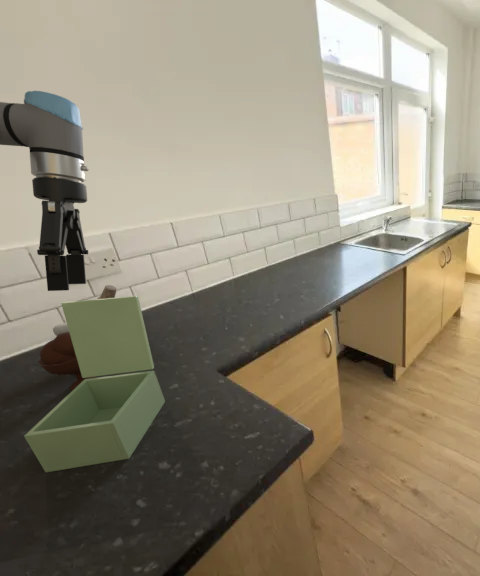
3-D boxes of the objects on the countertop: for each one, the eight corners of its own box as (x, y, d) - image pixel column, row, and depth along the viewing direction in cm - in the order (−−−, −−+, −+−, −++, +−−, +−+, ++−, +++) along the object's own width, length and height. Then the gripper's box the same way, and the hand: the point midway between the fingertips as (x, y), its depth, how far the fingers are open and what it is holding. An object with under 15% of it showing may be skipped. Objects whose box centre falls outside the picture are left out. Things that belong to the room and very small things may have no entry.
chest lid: (135, 296, 67) (138, 295, 67) (60, 303, 64) (64, 302, 65) (152, 369, 70) (154, 367, 71) (82, 378, 68) (85, 376, 69)
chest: (129, 458, 60) (113, 422, 56) (45, 472, 57) (23, 436, 54) (165, 401, 74) (154, 370, 71) (99, 410, 72) (84, 379, 68)
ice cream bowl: (117, 366, 87) (98, 318, 82) (101, 392, 78) (77, 339, 72) (69, 376, 84) (45, 326, 78) (45, 404, 74) (16, 349, 69)
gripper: (68, 170, 54) (78, 292, 57) (98, 192, 75) (104, 281, 77) (3, 162, 50) (16, 295, 53) (53, 188, 71) (61, 282, 73)
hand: (68, 287), depth 65 cm, fingers open, 13 cm apart
